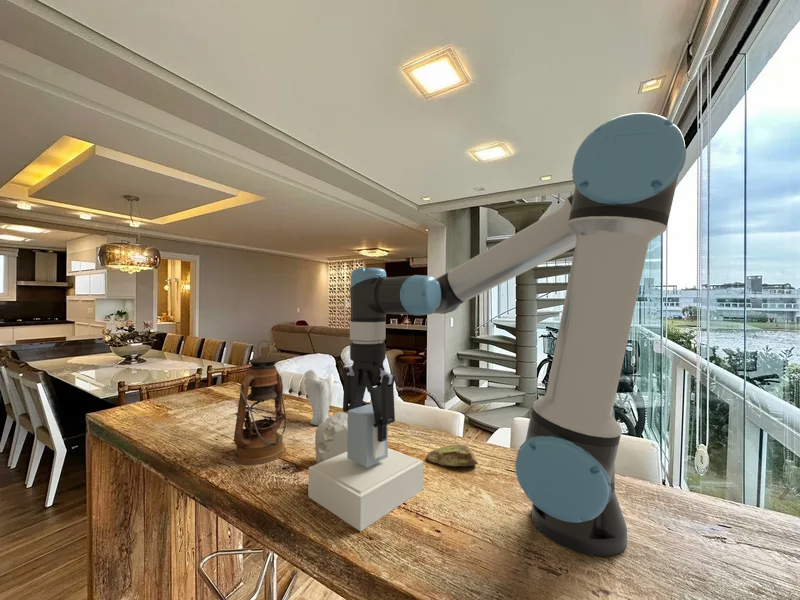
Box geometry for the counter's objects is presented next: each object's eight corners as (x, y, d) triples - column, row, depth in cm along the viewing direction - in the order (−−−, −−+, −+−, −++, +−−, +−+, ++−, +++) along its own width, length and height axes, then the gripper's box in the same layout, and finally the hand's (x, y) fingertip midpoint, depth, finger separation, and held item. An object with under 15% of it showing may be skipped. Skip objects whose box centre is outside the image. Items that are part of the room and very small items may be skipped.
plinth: (423, 489, 73) (423, 460, 73) (360, 531, 60) (360, 495, 60) (371, 465, 84) (371, 440, 84) (308, 496, 70) (308, 466, 70)
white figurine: (337, 421, 115) (337, 367, 116) (324, 429, 108) (324, 372, 108) (316, 418, 118) (316, 366, 118) (301, 426, 110) (302, 370, 111)
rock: (480, 477, 83) (473, 444, 92) (477, 457, 80) (470, 425, 90) (430, 483, 85) (428, 451, 94) (425, 464, 82) (423, 432, 91)
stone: (319, 469, 82) (319, 421, 82) (313, 460, 86) (313, 415, 86) (358, 458, 88) (358, 413, 88) (350, 451, 92) (350, 408, 92)
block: (387, 457, 72) (387, 409, 72) (366, 467, 67) (367, 416, 68) (368, 449, 76) (368, 404, 76) (347, 458, 71) (347, 410, 72)
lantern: (264, 438, 101) (265, 336, 101) (300, 445, 96) (301, 338, 96) (214, 462, 85) (215, 342, 85) (253, 472, 80) (255, 345, 80)
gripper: (414, 343, 68) (413, 459, 68) (352, 337, 81) (351, 434, 81) (388, 347, 63) (387, 472, 63) (326, 339, 75) (325, 444, 75)
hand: (367, 451), depth 72 cm, fingers closed on block, 6 cm apart
